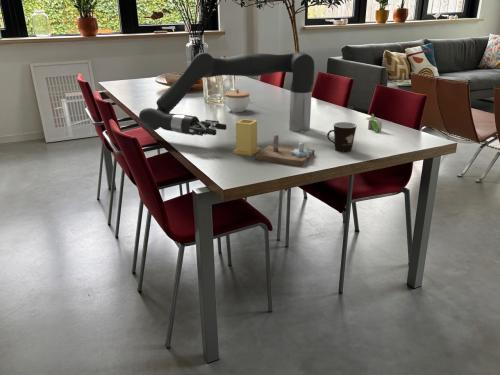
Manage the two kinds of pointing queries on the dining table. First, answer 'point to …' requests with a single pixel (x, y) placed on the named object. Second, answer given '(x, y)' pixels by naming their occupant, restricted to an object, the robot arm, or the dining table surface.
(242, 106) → the lidded bowl
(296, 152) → the gear
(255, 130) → the yellow hollow block
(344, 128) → the coffee mug
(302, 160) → the gear board
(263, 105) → the dining table surface
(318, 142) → the dining table surface
